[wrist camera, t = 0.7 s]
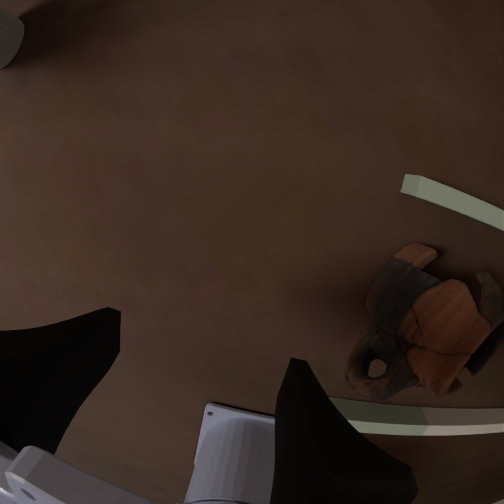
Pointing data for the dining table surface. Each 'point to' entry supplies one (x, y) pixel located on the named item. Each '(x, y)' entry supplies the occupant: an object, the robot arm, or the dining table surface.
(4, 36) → the house plant
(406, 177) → the open rectangular rail frame
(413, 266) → the brown piece
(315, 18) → the dining table surface
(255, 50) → the dining table surface
